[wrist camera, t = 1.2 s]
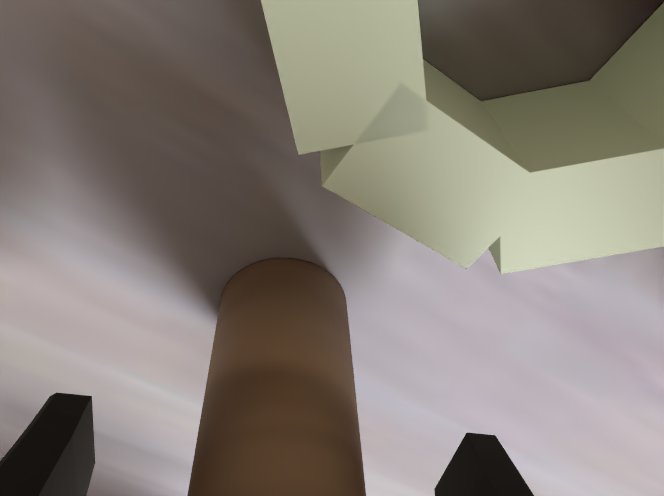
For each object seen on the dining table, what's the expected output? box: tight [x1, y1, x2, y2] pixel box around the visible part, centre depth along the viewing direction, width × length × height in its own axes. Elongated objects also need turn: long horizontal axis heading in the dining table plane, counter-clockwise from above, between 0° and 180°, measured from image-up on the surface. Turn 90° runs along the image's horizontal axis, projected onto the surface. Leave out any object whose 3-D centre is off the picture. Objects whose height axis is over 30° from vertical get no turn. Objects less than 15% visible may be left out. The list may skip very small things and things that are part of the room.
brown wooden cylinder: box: [188, 258, 366, 496], centre depth 12 cm, size 3×3×7 cm
